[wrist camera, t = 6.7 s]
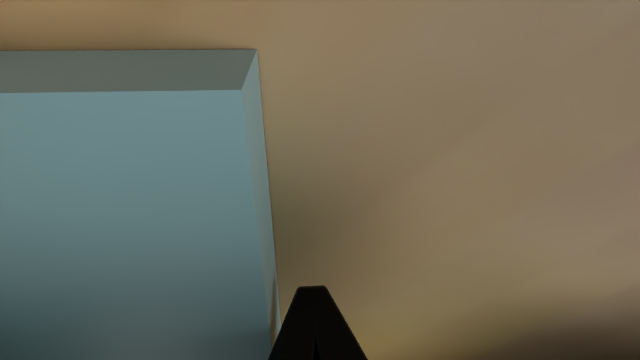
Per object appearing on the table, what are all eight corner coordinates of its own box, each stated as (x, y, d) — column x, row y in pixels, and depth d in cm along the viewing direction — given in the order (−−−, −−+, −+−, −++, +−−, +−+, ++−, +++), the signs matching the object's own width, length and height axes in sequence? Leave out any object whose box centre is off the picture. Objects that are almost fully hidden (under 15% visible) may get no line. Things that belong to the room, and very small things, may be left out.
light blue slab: (257, 49, 7) (241, 89, 4) (285, 375, 13) (284, 454, 11) (-322, 52, 6) (-664, 102, 4) (12, 394, 12) (-45, 482, 10)
